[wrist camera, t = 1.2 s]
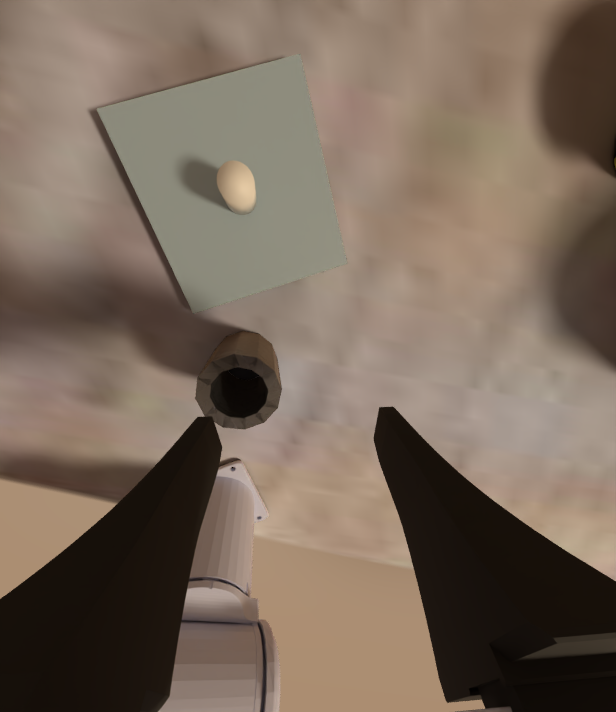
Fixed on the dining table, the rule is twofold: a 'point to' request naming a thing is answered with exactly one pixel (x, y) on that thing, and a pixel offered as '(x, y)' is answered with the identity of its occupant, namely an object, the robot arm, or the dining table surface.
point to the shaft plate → (190, 180)
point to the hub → (240, 382)
